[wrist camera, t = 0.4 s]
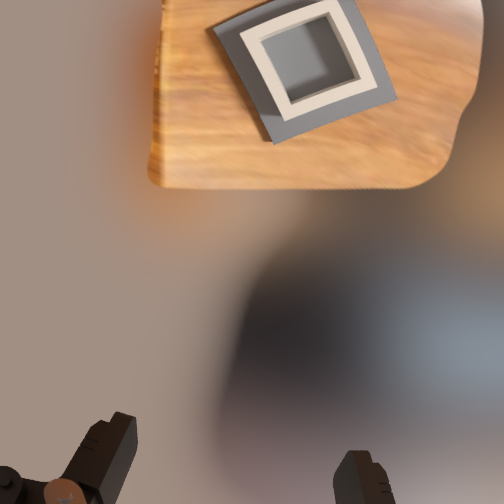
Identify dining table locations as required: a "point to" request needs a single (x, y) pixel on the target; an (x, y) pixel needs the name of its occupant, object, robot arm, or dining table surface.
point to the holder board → (306, 63)
